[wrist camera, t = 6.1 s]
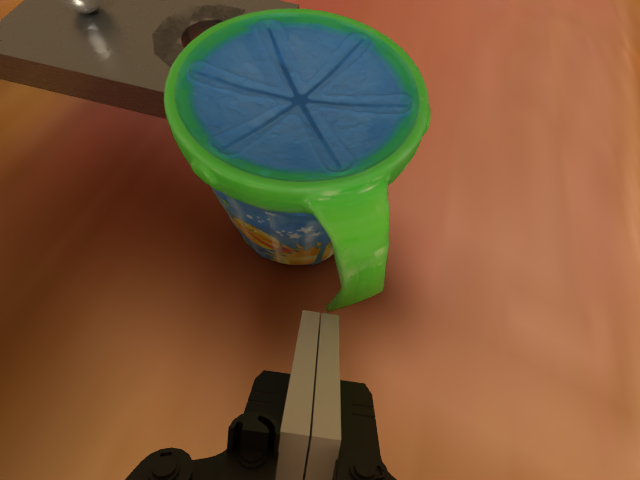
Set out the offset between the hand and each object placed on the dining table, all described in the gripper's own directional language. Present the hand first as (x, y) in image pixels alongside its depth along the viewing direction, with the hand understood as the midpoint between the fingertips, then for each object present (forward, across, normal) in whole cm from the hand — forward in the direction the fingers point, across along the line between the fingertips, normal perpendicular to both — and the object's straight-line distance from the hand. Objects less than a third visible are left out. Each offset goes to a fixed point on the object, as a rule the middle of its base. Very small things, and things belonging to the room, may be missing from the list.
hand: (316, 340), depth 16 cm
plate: (+19, -16, +13) cm, 27 cm away
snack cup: (+9, -2, +3) cm, 10 cm away
